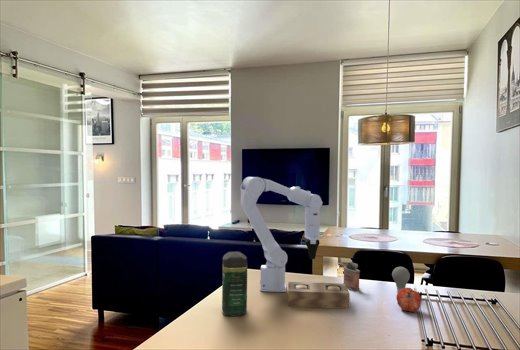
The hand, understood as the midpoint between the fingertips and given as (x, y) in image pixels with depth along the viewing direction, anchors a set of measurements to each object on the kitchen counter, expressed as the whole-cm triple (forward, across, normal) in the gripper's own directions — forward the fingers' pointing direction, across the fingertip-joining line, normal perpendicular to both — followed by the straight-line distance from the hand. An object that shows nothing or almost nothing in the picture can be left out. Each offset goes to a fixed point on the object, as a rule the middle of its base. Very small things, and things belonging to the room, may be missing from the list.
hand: (312, 258), depth 139 cm
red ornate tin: (+11, -2, -15) cm, 18 cm away
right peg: (+10, -18, -6) cm, 22 cm away
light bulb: (+11, -7, -32) cm, 34 cm away
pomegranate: (+11, -22, -30) cm, 39 cm away
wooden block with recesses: (+10, -18, -1) cm, 21 cm away
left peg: (+10, -18, +5) cm, 21 cm away
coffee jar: (+10, -29, +26) cm, 41 cm away
